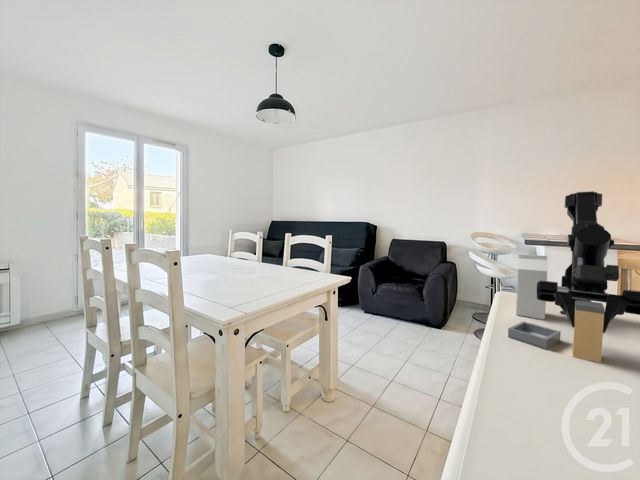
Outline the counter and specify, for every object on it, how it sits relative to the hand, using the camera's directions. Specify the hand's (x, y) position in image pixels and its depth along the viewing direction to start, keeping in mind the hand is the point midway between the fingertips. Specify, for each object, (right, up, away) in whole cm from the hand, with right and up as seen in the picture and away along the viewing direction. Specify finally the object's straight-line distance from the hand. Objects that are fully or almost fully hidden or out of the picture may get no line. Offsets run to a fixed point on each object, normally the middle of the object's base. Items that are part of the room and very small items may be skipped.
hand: (588, 329), depth 60 cm
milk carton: (+8, -4, +27) cm, 29 cm away
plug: (+1, -6, +2) cm, 7 cm away
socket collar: (-4, -6, +10) cm, 12 cm away
